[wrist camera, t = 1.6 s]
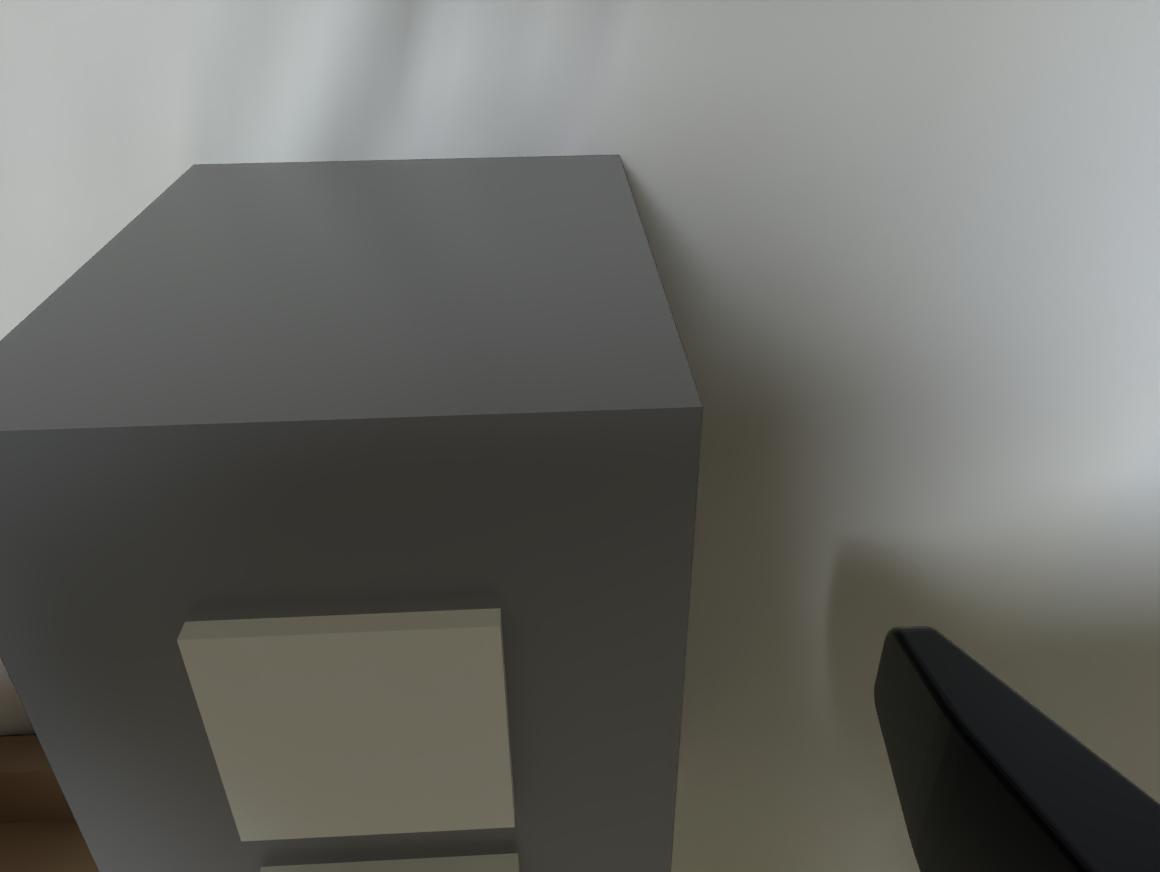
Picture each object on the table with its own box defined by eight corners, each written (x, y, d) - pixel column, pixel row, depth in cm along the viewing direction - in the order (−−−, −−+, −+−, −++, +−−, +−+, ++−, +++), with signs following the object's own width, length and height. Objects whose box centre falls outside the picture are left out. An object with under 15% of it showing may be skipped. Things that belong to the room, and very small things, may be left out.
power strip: (618, 150, 9) (706, 421, 5) (609, 768, 14) (651, 1192, 9) (198, 161, 9) (-120, 450, 4) (336, 781, 14) (247, 1219, 9)
